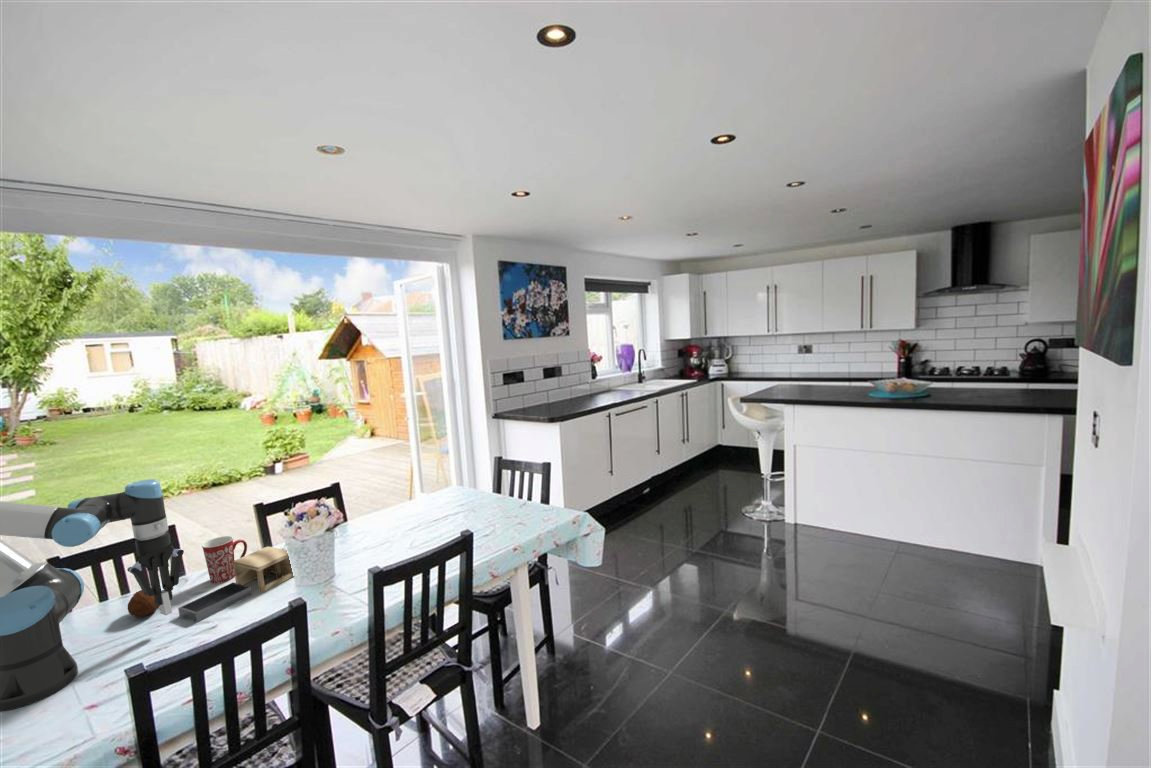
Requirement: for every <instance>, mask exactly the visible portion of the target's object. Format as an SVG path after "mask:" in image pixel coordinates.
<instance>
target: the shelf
mask: <svg viewBox="0 0 1151 768" xmlns="http://www.w3.org/2000/svg"><path fill="white" fill-rule="evenodd" d="M287 551H288V550H286V549H283V548H282V549H281V548H277V547H274V546H273V547H272V546H270V545H268V546H264V547H263V548H259V549H258V550H256V551H253V552H251V553H249V554H245V556H244V557H242V558H240V557H239V558H237V559H234V560H235V561H233V566H234V573H235V577H234V578H235V583H237V584H241V585H244V584H247V583H249V582H251V581H253V580H255V579H257V584H258V586H257V587H258V591H259V594H263V593H265V592H266V591H267V590H270V589H271V588H274V587H276V586H277V585H280V584H281V583H283V582H285V581H287V580H289V579H291V578H294V577H293V572H292V568H291V564H290V560H289V556H288V553H287ZM271 573H275V575H276V579H274V580H272V581H271V582H268V583H266V584H265V579H264V578H269V577H271Z"/></svg>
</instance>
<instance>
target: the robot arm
mask: <svg viewBox="0 0 1151 768" xmlns="http://www.w3.org/2000/svg"><path fill="white" fill-rule="evenodd" d="M164 500H165V499H164V494H163V492H162V488H161V483H160V481H159V480H157V479H141V480H139V481H134V482H131V483H128V484H126V486H125V487H124V491H122V492H116V493H111V494H105V495H99V496H98V495H97V496H93V497H89V496H88V497H84V498H81V499H77V500H73V501H71V502H70V503H68V505H67V507H62V506H61V507H60V506H50V505H41V504H31V503H23V502H15V501H14V502H12V501H4V500H0V536H4V537H5V536H6V537H16V538H19V537H20V538H32V539H44V540H53V541H54V543H56V544H58V545H59V546H61V547H68V548H69V547H70V548H72V547H74V548H75V547H78V546H82V545H83V544H85V543H87V542H88V541H90V540H91V539H93V538H95V536H97V534H98V533H99V532H100V530H102V529H103V528H104V527H105V526H106V525H107V524H110V523H114V522H115V523H116V522H120V521H125V520H130V521H131V528H132V534H133V539H135V540H134V543H135V549H136V553H137V558H136V562H135V563H134V564H133V565H132V566H129V567H128V568H127V572H129V573H130V574H131V575H133V577H134V578H135V580H136V582H137V584H138V586H139V587H140V590H142V591H143V593H144V594H145V595H148V596H154V600H155V604H156V605H158V606H159V607H158V608H159V611H160V615H162V616H163V615H164V616H168V615H170V614H172V613H173V611H172V607H171V606H172V605H171V601H173V599H174V595H173V592H172V591H173V590H174V587H175V586H177V585H179V583H180V581H179V580H180V573H181V571H180V570H181V560H182V558H183V555H184V553H185V550H184V549H180V548H174V546H173V545H172V540H171V534H170V532H169V525H168V523H169V522H168V519H167V518H168V517H167V513H166V507H165V501H164ZM170 558H171V561H170V563H171V564H170V563H169V560H170ZM141 566H142V567H144V568H146V571H147V573H148V577H149V581H148V580H147V578H146V576H145V574H144V573H143V572H142V567H141ZM169 567H170V570H169ZM84 591H85V584H84V580H83V578H82V576H81V575H80V574H79V573H78V572H76V571H75V570H72V569H70V568H65V567H64V568H57V567H55V566H53V565H52V564H50V563H49V562H47V561H42V562H34V561H33V560H32V559H30V558H28V556H25V555H24V554H22V553H21V552H20V551H19V550H17V549H15V548H14V547H13V546H11V545H10V544H8V543H7V542H6V541H4V540H2V539H1V538H0V712H2V711H9V710H14V709H18V708H21V707H25V706H29V705H30V704H33V703H36V702H38V701H41V700H43V699H45V698H47V697H49V696H51V695H53V694H55V693H56V692H59V691H60V690H62V689H63V688H65V687H66V686H67V685H69V684H70V683H71V682H72V681H74V680H75V679H76V677H77V676H78V674H79V669H78V664H77V662H76V660H75V658H73V656H72V655H71V654H70V653H69V651H68V650H67V649H66V647H64V643H63V639H62V633H61V627H60V624H61V622H63V620H64V619H65V617H67V616H68V614H69V613H70V611H72V610H74V608H75V607H76V606H77V605H78V604H79V602H80V600H81V598H82V596H83V593H84Z"/></svg>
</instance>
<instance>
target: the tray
mask: <svg viewBox="0 0 1151 768" xmlns="http://www.w3.org/2000/svg"><path fill="white" fill-rule="evenodd" d="M251 596H252V590H251V587H250V586H248V585H244V584H243V585H241V584H237V583H236V582H233V581H232V582H231V583H229V584H226V585H224V586H223V587H220V588H218V589H216V590H214V591H211V592H209V593H207V594H205V595H203V596H200V597H199V598H196V599H194V600H192V601H190V602H188V603H186V604H184V605H181V606H179V607H177V608H178V614H179V617H180V618H183V619H187V620H189V621H191V622H193V623H194V622H195V623H199V622H200V621H203V620H205V619H207V618H209V617H210V616H212V615H215V614H217V613H219V612H221V611H223V610H224V609H226V608H228V607H231V606H232V605H235V604H237V603H239V602H241V601H243V600H245V599H247V598H248V597H251Z"/></svg>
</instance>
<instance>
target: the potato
mask: <svg viewBox="0 0 1151 768" xmlns="http://www.w3.org/2000/svg"><path fill="white" fill-rule="evenodd" d="M158 608H160V607H159V606H158V605H156V604H155V600H154V596H148V595H145V594H144V593H143V591H142V589H139V590H138V591H136V592H134V593H133V595H132V597H130V599H129V601H128V605H127V611H128V613H129V614H130V615H131V616H133V617H137V618H139V617H145V616H147V615H151V614H153V613H154V612H156V610H158Z"/></svg>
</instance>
